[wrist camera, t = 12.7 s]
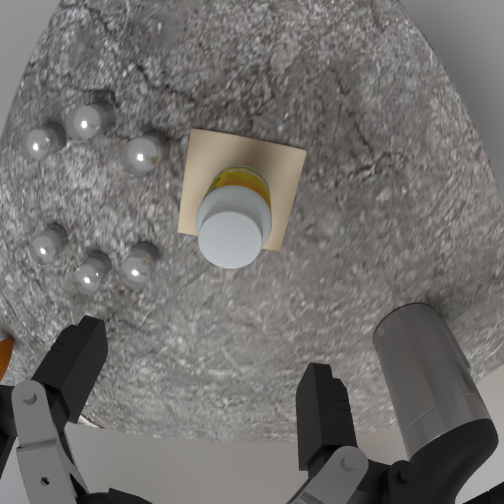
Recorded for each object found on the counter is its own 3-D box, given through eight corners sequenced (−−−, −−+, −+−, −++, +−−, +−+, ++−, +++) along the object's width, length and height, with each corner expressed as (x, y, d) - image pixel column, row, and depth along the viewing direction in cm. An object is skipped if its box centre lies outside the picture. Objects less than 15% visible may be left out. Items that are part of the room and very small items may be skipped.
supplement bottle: (260, 227, 29) (259, 287, 21) (204, 212, 29) (180, 267, 20) (277, 173, 27) (285, 215, 18) (218, 156, 26) (196, 191, 18)
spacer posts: (175, 108, 25) (161, 112, 21) (157, 286, 34) (147, 309, 30) (46, 101, 24) (21, 106, 20) (51, 261, 33) (34, 279, 29)
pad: (305, 150, 26) (306, 151, 26) (279, 248, 31) (279, 251, 31) (192, 127, 26) (191, 128, 25) (179, 229, 30) (177, 232, 30)
